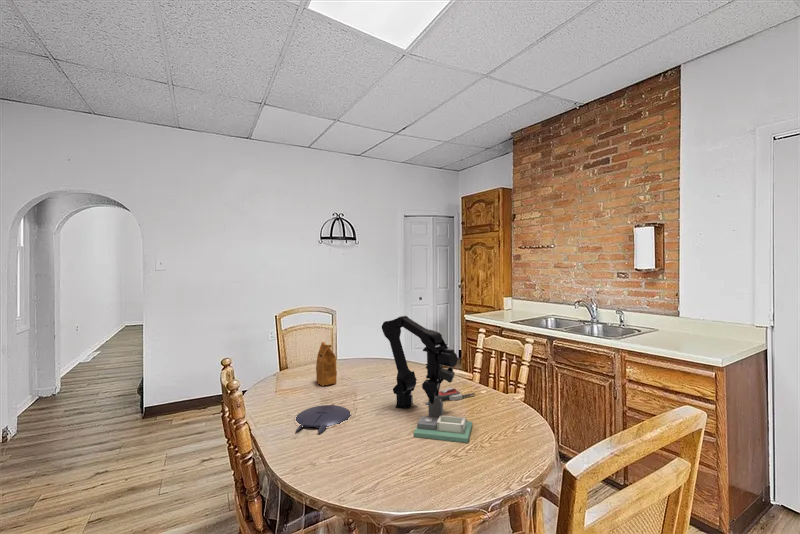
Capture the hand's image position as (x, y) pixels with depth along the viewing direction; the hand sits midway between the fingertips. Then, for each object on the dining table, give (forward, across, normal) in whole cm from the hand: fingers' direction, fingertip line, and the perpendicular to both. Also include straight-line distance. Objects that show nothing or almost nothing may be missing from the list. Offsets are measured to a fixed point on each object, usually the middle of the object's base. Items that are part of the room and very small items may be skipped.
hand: (434, 399), depth 160 cm
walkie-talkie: (+8, +24, -4) cm, 25 cm away
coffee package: (+8, +30, +67) cm, 74 cm away
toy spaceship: (+8, -14, +46) cm, 49 cm away
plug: (+7, 0, 0) cm, 7 cm away
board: (+7, -13, -6) cm, 16 cm away
